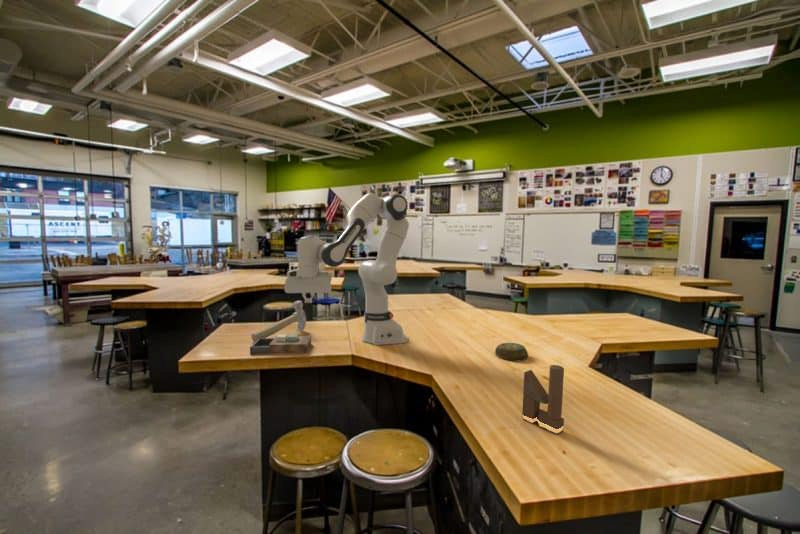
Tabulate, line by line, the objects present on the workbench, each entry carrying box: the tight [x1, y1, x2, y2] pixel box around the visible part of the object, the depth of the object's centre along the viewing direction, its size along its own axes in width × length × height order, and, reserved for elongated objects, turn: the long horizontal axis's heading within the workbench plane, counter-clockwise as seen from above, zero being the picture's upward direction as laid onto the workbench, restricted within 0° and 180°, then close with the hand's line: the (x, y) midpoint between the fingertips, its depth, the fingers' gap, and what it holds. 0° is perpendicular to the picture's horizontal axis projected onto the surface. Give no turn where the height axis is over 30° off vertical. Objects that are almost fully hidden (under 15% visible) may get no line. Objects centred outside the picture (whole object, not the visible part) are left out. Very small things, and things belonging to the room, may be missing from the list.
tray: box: [249, 337, 275, 355], centre depth 168 cm, size 8×13×3 cm, turn 5°
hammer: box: [250, 300, 307, 343], centre depth 188 cm, size 16×5×30 cm
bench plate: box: [268, 335, 312, 355], centre depth 169 cm, size 16×13×4 cm
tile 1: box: [275, 334, 288, 342], centre depth 169 cm, size 4×4×2 cm
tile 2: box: [287, 333, 299, 341], centre depth 169 cm, size 4×4×2 cm
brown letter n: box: [521, 364, 565, 429], centre depth 104 cm, size 4×11×18 cm, turn 39°
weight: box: [494, 342, 529, 361], centre depth 163 cm, size 14×13×5 cm
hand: (308, 302), depth 168 cm, fingers closed
